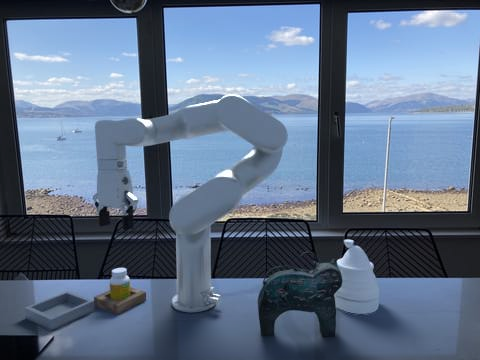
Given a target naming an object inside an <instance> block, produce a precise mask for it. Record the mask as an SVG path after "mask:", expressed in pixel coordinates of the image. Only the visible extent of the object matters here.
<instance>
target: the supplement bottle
mask: <svg viewBox="0 0 480 360" xmlns="http://www.w3.org/2000/svg"><path fill="white" fill-rule="evenodd" d="M127 271H128V270H127V268H126V267H117V268H114V269H112V270H111V277H110V279H109V290H110V299H113V300H116V301H121V300H123V299H125V298H127V297H129V296H130V287H131V282H130V281H131V279H130V277H129V276H128V275H127V274H128V272H127Z"/></svg>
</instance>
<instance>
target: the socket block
mask: <svg viewBox="0 0 480 360" xmlns="http://www.w3.org/2000/svg"><path fill="white" fill-rule="evenodd" d="M93 300H94V304H95V307H97V308H100V309H102V310H105V311H107V312H110V313H113V314H116V315H120V314H122V313H124V312H126V311H128V310H130V309H132V308H133V307H136V306H138V305H140V304H142V303H144V302H145V301H147V292H146V291H144V290H142V289H138V288H135V287H132V286H130V296H129V297H127V298H125V299H123V300H121V301H116V300H113V299H110V289H109V290H107V291H105V292H102V293H100V294H98V295H95V296H94V297H93Z"/></svg>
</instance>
